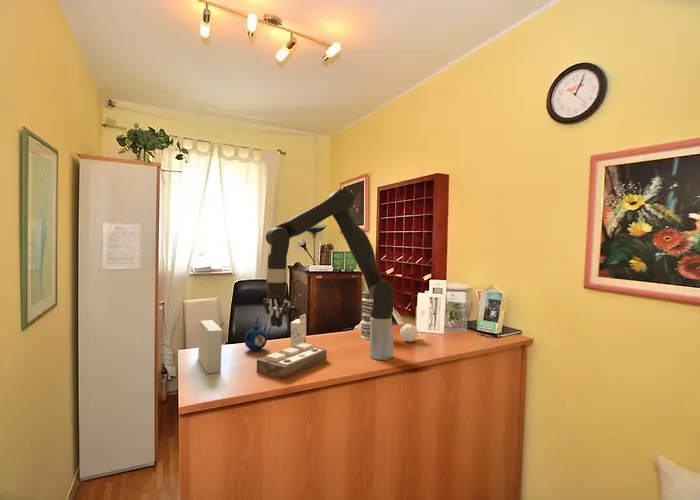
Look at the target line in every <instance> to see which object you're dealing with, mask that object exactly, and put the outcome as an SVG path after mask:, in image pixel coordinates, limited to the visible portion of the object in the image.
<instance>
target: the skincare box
mask: <svg viewBox="0 0 700 500" xmlns="http://www.w3.org/2000/svg"><path fill="white" fill-rule="evenodd" d="M222 345H223V329H222V328H221V327H220V326H219V325H218V324H217V323H216V322H215V321H214V320H212V319H209V320H208V319H205V320H199V334H198V352H197V353H198V354H197V359H198V360H199V362H200V364H201V366H202V368H203V369H204V372H205V373H206V374H209V375H210V374H216V373H220V372H221V371H222Z"/></svg>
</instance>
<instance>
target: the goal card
mask: <svg viewBox="0 0 700 500" xmlns="http://www.w3.org/2000/svg"><path fill="white" fill-rule="evenodd" d="M316 348H317V347H316ZM316 348H313V349H311V350H308V351H305V352H303V353H300V354H298V355H295V356H292V357H290V358H287V359H285V360H282V361H279V362H278V363H280V364H284V365H289V364H291V363H294V362H296V361H299V360H301V359H303V358H306V357H308V356H311V355H313V354H316V353H318V352H321V351H323V350H320V349H316Z"/></svg>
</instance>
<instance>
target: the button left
mask: <svg viewBox="0 0 700 500" xmlns="http://www.w3.org/2000/svg"><path fill="white" fill-rule="evenodd" d="M277 352H278V351H277ZM277 352H273V353H270V354H267V355H266V356H265V357H266V360H268V361H271V362H275V363H277V362H279V361H282V360H285V359H286V355H285V354H281V353H277Z"/></svg>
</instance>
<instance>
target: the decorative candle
mask: <svg viewBox="0 0 700 500" xmlns="http://www.w3.org/2000/svg"><path fill="white" fill-rule="evenodd" d="M360 301H361V302H360V304H361V316H362V320H361V325H360V326H361V329H360V330H361V333H360V334H361V338H362V339H365V340H370V317H371V316H370V315H371V310H372V308H373V297H372V296H371V295H370V293H369V290H368V288H365V289H364V290H363V291H362V299H361V300H360Z"/></svg>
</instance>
